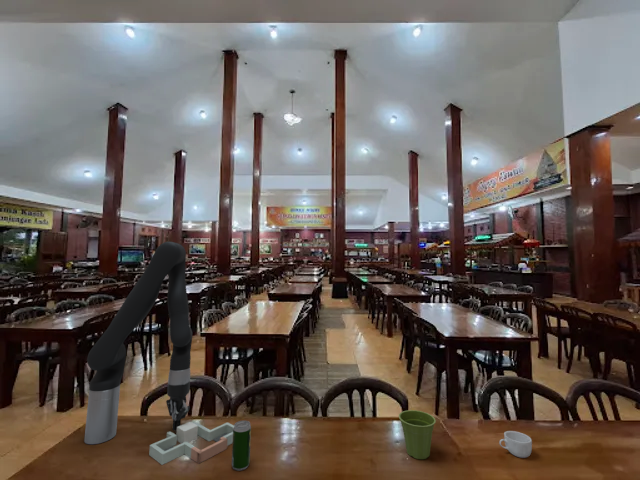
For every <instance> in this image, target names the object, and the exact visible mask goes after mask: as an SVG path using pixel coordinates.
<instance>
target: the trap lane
mask: <svg viewBox="0 0 640 480" xmlns="http://www.w3.org/2000/svg"><path fill="white" fill-rule="evenodd" d="M191 422H192V421H191ZM192 423H194V424H196V425H197V426H198V431H197V437H200V438H202V439H204V440H206V441H207V442H211V441H214V442H213V444H210V445H207V446H206V447H205V448H202V449H200V448H198V447H196V446H194V445H193V444H192V443H191V442H189V443H188V442H187V441H186V442H184V443H182V444H181V443H180V444H177V442H178V441H177V435H176V434H175V433H174V432H172V431H167V432H166V438H163V439H161V440H159V441H156V442H154V443H152V444H149V450H148V451H149V452H148V453H149V454H148V455H149V457H151V458H152V459H154V460H155V461H156V462H157V463H159V464H160V465H162V466H163V465H165V464H167V463H169V462H171V461H173V460H175V459H177V458H179V457H181V456H183V455H185V456H187V457H188V458H189V459H191V460H192V461H194V462H195V463H197V464H200V463H202V462H205V461H206V460H208V459H210V458H212V457H215V456H216V455H218V454H220V453H222V452H224V451H226V450H227V449H228V446H230V445H231V444H233V428H234V424H232V423H230V422H228V421H227V422H225V423H222V424H221V425H218V426H216V427H214V428H212V429H209V428H207V427H206V426H204V425H202V424H200V423H198V422H196V421H193V422H192Z"/></svg>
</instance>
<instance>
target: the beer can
mask: <svg viewBox="0 0 640 480" xmlns="http://www.w3.org/2000/svg"><path fill="white" fill-rule="evenodd" d="M233 425H234V428H233V443H232V445H231V446H232V447H231V448H232V449H231V467H232V469H233V471H238V472H239V471H241V472H242V471H244V470H246V469H248V467H249V465H250V462H251V434H252V426H251V422H250V421H249V420H239V421H236V422H235V423H234V424H233Z"/></svg>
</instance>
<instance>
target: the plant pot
mask: <svg viewBox="0 0 640 480" xmlns="http://www.w3.org/2000/svg"><path fill="white" fill-rule="evenodd" d="M398 418H399V420H400V425H401V427H402V432H403V437H404V443H405V448H406V454H408V455H409V456H410V457H413V458H414V459H417V460H427V459H428V458H429V457H430V455H431V447H432V437H433V431H434V425H435V424H436V421H437V420H436V418H435V417H434V416H433V415H431V414H430V413H428V412H424V411H423V410H415V409H414V410H413V409H410V410H407V409H406V410H404V411H401V412H400V413H398Z"/></svg>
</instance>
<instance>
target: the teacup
mask: <svg viewBox="0 0 640 480" xmlns="http://www.w3.org/2000/svg"><path fill="white" fill-rule="evenodd" d="M503 436H504V437H503V438H502V439H499V441H498V442H499V446H500V447H502V448H503V449H505V450H508V452H509V453H510V454H512V455H513V456H515V457H516V458H522V459H525V458H528V457H529V456H530V455H531V453H532V449H533V448H532V445H533V441H532V440H533V439H532V438H531V437H530V436H529V435H527V434H525V433H522V432H519V431H515V430H507V431H504V433H503ZM502 442H504V445H505V446H504V445H502Z"/></svg>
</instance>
